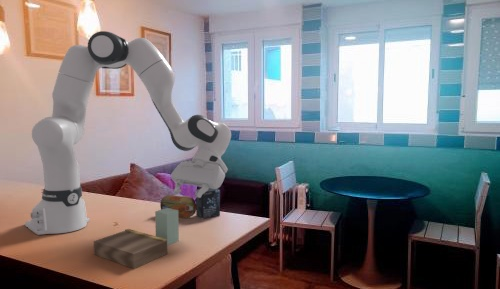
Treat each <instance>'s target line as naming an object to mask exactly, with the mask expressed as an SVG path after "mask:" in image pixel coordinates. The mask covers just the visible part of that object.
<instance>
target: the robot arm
mask: <svg viewBox="0 0 500 289" xmlns="http://www.w3.org/2000/svg"><path fill="white" fill-rule="evenodd" d="M126 66H130V68H132V70H133V71H134V72H135V73H136V75H137V76H138V78H139V79H140V81H141V82H142V83H143V85H144V86H145V88H146V90H147V92H148V94H149V97H150V99H151V101H152V104H153V106H154V107H155V109H156V110H157V113H158V114H159V116H160V117H161V119H162V121H163V122H164V124H165V126H166V127H167V129H168V131H169V134H170V138H171V141H172V143H173V145H174V146H175V147H176V148H177V149H178V150H180V151H184V152H189V151H192V150H194V148H196V147H198V149H197V151H196V153H195V154H194V155H193V157H192V159H191V160H189V159H185V160H182V161H181V162H180V163H178V164H177V166H176V167H175V168H174V169H173V170H172V172H171V174H170V178H171V180H172V181H173V182H174V183H175V185H174V186H175V187H174V189H173V193H174V195H180V193H181V192H182V189H181V187H182V186H183V185H187V186H195V187H200V188H199V189H200V190H199V191H195V193H194V196H195V198H196V197H198V198H201V196H202V194H204V193H205V192H206V191H208V189H209V188H212V189H219V188H220V187H221V186H222V184H223V182H224V180H225V177H226V174H227V172H228V170H229V168H228V167H227V165H226V164H225V162H224V161H223V159H222V156H223V155H224V154H225V153H226V150H227V148H228V146H229V144H230V142H231V139H232V131H231V129H230V128H229V126H228V125H226V124H225V123H223V122H221V121H219V122H218V121H212V120H210V119H208V118H207V117H206V116H204V115H202V114H194V115H192V116H190V117H189V118H188V119H186V120H185V121H184V120H183V118H182V116H181V115H180V112H178V110H177V108H176V106H175V104H174V102H173V99H172V97H173V96H172V95H173V89H174V88H173V87H174V85H175V79H176V78H175V77H176V76H175V73H174V71H173V68H172V66H171V65H170V63H169V62H168V60H167V59H166V58H165V57H164V55H163V54H162V52H160V50H159V49H158V48H157V47H156V46H155V45H154V44H153V43H152V41H150V40H149V39H147V38H146V37H137V38H134V39H132V40H131V41H129V42H128V41H127V40H126V39H125V38H123V37H121V36H119V35H117V34H115V33H114V32H110V31H106V30H105V31H104V30H103V31H97V32H95V33H93V34H92V35H91V36H90V38H89V39H88V42H87V46H86V45H82V44H76V45H72V46H70V47H69V48H68V49H67V51H66V53H65V55H64V56H63V59H62V61H61V64H60V67H59V70H58V74H57V76H56V80H55V82H54V87H53V91H52V92H51V93H52V94H51V98H52V103H53V105H52V114H51V116H48V117H44V118H42V119H40V120H39V121H38V122H37V123H35V124H34V126H33V128H32V130H31V138H32V141H33V143H34V144H35V145H36V146H37V150H38V152H39V156H40V160H41V164H42V167H43V182H44V183H43V185H44V189H43V188H42V191H41V192H40V193H41V195H42V196H41V200H40V201H39V202H38V203H37V204H36V205H35V206H34V207H33V208H32V210H31V212H30V218H31V219H30V220H28V221H26V222H25V223H24V226H25V228H27V227H28V228H27V229H29V230H30V231H32V232H33V233H34V234H36V235H38V236H40V235H46V234H48V235H49V234H52V235H53V234H66V233H71V232H75V231H78V230H82V229H83V228H85V227H86V226H87V224H88V223H89V222H90V217H87V216H88V215H87V210H86V209H87V208H86V203H85V199H83V198H82V196H83V189H82V185H81V179H80V178H81V175H80V172H81V171H80V163H79V162H78V160H77V156H76V153H75V148H74V147H75V146H74V145H76V144H77V143H79V142H80V141H81V139H82V138H83V136H84V134H85V123H86V115H87V107H88V103H89V100H90V95H91V92H92V88H93V85H94V81H95V78H96V75H97V72H98V71H99V70H100V69H111V70H112V69H113V70H117V69H122V68H124V67H126Z"/></svg>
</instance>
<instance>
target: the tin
mask: <svg viewBox="0 0 500 289" xmlns="http://www.w3.org/2000/svg"><path fill="white" fill-rule="evenodd" d="M195 200H196V199H194V198H193V197H191V196H189V195H180V194H168V195H165V196H163V198H162V199H161V200H160V210H162V209H165V208H170V209H175V210H178V219H190V217H192V216H194V215H196V201H195Z"/></svg>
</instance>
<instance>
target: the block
mask: <svg viewBox="0 0 500 289" xmlns="http://www.w3.org/2000/svg"><path fill="white" fill-rule="evenodd" d="M154 212H155V213H154V214H155V216H154V217H155V219H154V220H155V236H156V237H160V238H164V239H167V247H168V246H170V244H171V245H172V244H175V243H177V241H178V242H179V237H180V235H179V231H180V230H179V227H180V226H179V222H180V219H179V218H178V210H175V209H170V208H165V209H162V210H161V209H159V210H156V211H154Z"/></svg>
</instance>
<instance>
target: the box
mask: <svg viewBox="0 0 500 289" xmlns="http://www.w3.org/2000/svg"><path fill="white" fill-rule="evenodd" d="M200 189H201V188H197V189H196V191H199V190H200ZM196 191H195V192H196ZM195 200H196V201H195V202H196V212H195V216H197V217H198V218H200V219H202V220H203V219H208V218H214V217H220V216H221V190H220V189H219V188H218V189H212V188H209V189H208V191H206V192H205V193H204V194H202V196H201V198H198V197H196V196H195Z"/></svg>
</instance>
